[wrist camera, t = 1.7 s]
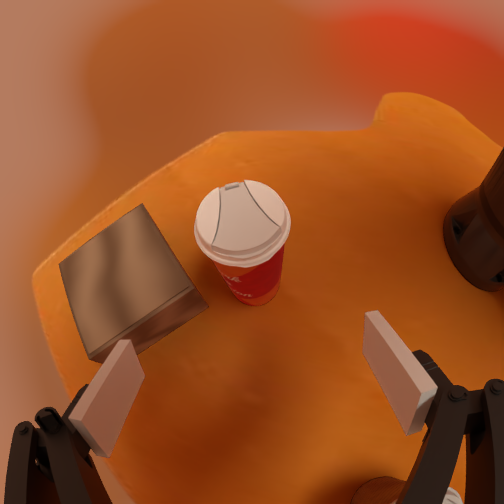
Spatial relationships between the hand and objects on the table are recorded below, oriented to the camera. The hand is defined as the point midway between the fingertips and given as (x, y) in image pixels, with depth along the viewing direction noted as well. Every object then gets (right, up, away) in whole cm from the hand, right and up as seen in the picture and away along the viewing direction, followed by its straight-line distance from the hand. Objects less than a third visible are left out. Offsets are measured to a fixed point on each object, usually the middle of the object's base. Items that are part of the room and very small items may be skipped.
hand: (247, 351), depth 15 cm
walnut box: (-14, 0, +20) cm, 24 cm away
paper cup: (+1, +1, +19) cm, 19 cm away
